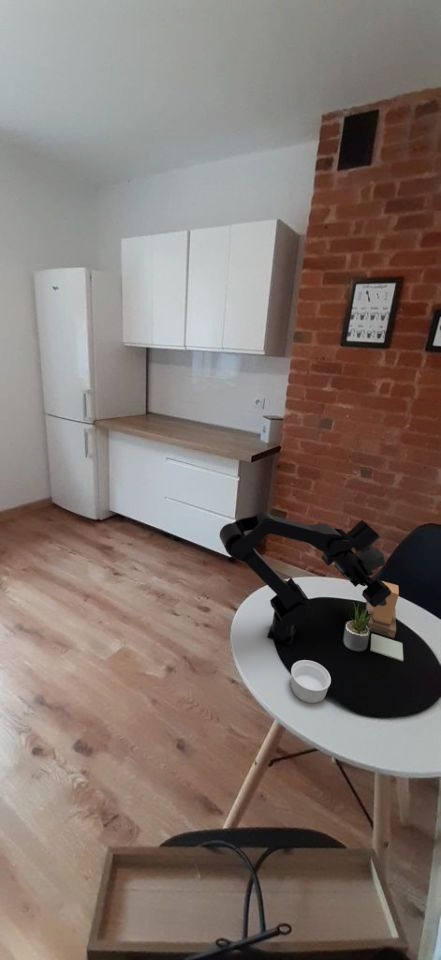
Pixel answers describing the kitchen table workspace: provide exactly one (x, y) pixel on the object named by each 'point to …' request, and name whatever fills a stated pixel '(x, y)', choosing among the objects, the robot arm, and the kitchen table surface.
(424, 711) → the kitchen table surface
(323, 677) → the ramekin
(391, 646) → the mat
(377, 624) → the header
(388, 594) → the robot arm
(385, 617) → the orange rectangular block
